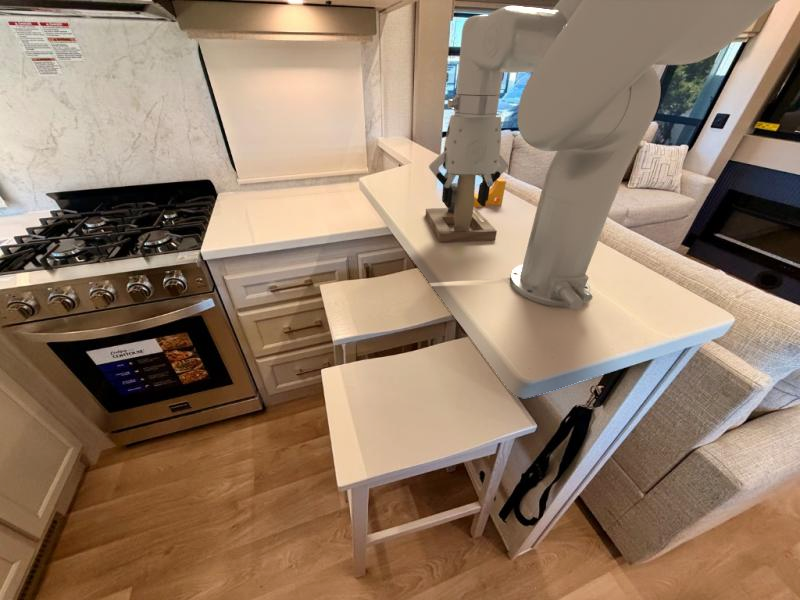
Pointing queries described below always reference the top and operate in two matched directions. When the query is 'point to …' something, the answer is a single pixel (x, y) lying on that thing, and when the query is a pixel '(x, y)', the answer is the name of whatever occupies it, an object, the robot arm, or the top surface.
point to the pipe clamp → (493, 194)
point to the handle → (464, 202)
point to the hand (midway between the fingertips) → (464, 204)
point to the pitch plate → (446, 217)
